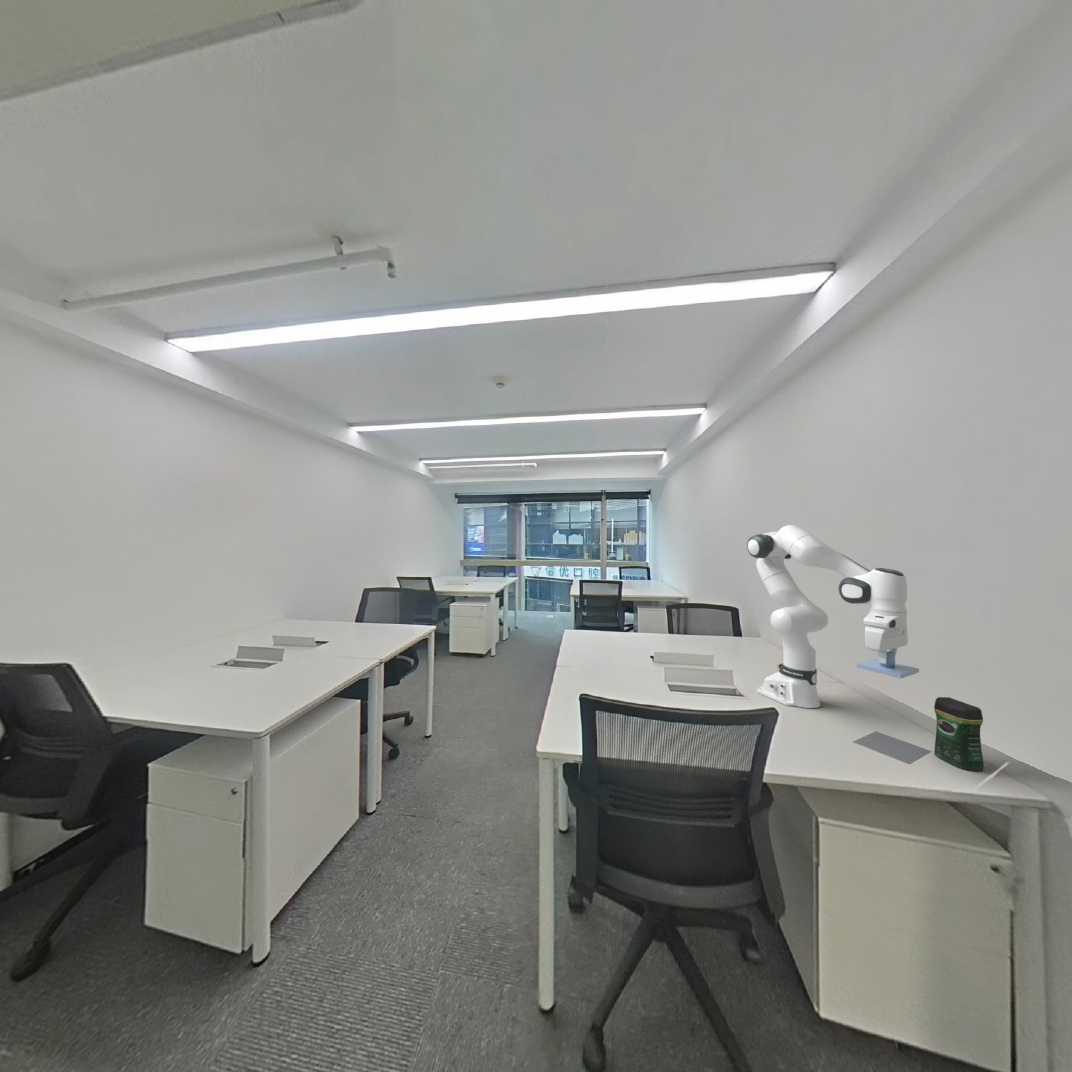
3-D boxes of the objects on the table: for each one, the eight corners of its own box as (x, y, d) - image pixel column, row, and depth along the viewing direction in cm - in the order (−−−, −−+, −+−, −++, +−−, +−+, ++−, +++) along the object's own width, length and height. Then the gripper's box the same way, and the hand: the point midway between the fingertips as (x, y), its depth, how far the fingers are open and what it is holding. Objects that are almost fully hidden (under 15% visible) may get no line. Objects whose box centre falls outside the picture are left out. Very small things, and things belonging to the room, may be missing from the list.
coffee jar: (990, 773, 110) (990, 707, 110) (964, 773, 109) (964, 708, 109) (952, 754, 119) (952, 694, 119) (928, 754, 119) (928, 694, 119)
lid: (856, 667, 126) (857, 649, 126) (875, 662, 132) (875, 645, 132) (900, 678, 116) (901, 659, 116) (918, 672, 122) (919, 654, 122)
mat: (852, 743, 125) (852, 741, 125) (875, 732, 132) (875, 731, 132) (909, 765, 113) (909, 764, 113) (931, 752, 120) (931, 751, 120)
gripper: (890, 614, 131) (889, 655, 131) (860, 619, 122) (859, 663, 122) (914, 618, 126) (913, 660, 126) (885, 623, 116) (885, 669, 116)
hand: (887, 661), depth 124 cm, fingers closed on lid, 4 cm apart
